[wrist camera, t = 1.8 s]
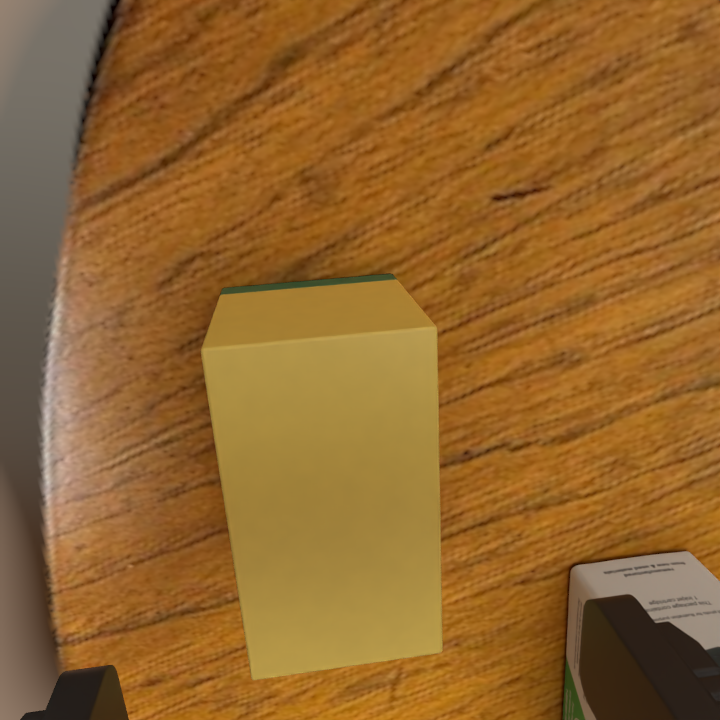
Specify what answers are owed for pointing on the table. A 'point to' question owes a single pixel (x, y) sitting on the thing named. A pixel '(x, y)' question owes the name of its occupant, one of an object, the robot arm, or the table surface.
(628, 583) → the ink box
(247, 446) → the sponge
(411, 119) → the table surface
